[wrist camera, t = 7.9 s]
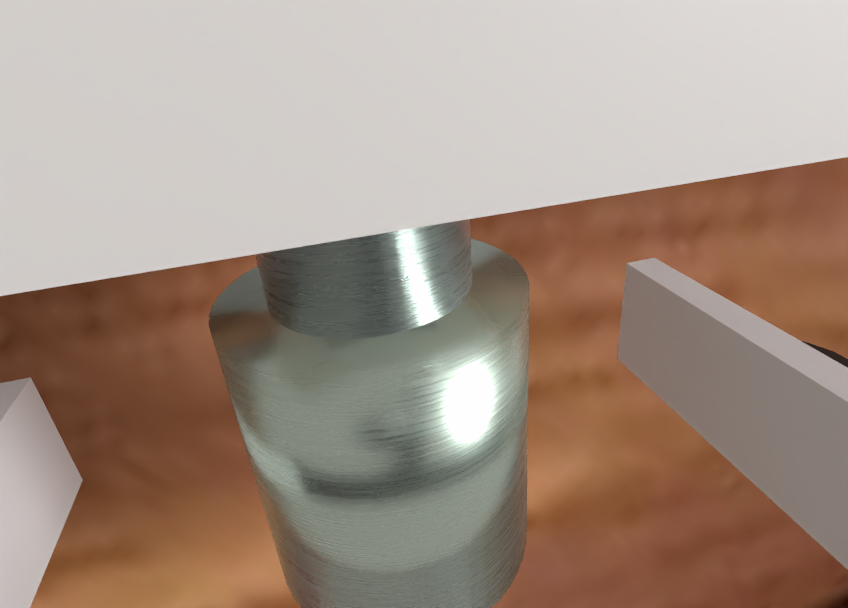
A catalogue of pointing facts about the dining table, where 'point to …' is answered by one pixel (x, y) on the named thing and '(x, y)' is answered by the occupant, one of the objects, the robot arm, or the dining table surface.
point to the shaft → (385, 414)
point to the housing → (380, 116)
